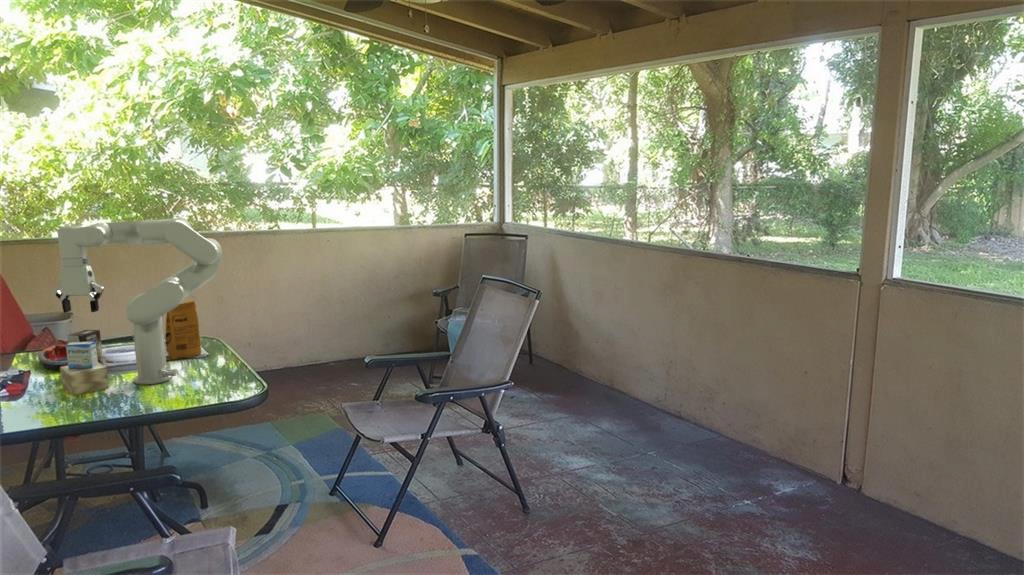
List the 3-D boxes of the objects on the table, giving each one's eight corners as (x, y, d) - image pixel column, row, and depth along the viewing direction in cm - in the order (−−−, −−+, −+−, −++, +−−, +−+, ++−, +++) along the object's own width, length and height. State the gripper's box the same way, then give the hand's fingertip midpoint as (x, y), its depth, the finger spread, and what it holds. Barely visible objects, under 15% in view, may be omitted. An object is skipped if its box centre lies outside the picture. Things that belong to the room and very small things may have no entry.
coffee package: (165, 355, 286) (160, 302, 282) (198, 350, 293) (193, 298, 289) (170, 360, 278) (164, 306, 274) (203, 355, 285) (198, 302, 281)
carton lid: (95, 361, 251) (95, 360, 251) (107, 368, 243) (106, 366, 243) (59, 368, 243) (59, 366, 243) (70, 376, 235) (70, 374, 235)
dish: (41, 376, 259) (39, 363, 258) (37, 358, 284) (35, 346, 283) (90, 368, 268) (88, 356, 267) (82, 351, 293) (80, 340, 292)
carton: (97, 380, 252) (95, 362, 251) (108, 388, 244) (106, 368, 243) (62, 388, 245) (60, 368, 243) (73, 395, 236) (70, 375, 235)
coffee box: (86, 378, 255) (81, 335, 252) (71, 377, 257) (65, 334, 254) (105, 371, 264) (100, 329, 261) (90, 370, 265) (85, 328, 262)
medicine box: (68, 369, 240) (65, 344, 239) (74, 365, 245) (71, 341, 243) (92, 368, 241) (89, 344, 240) (98, 364, 246) (95, 340, 244)
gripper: (106, 260, 243) (112, 309, 246) (57, 261, 243) (63, 309, 246) (92, 263, 235) (99, 313, 238) (42, 264, 236) (49, 314, 239)
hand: (81, 311), depth 242 cm, fingers open, 9 cm apart
